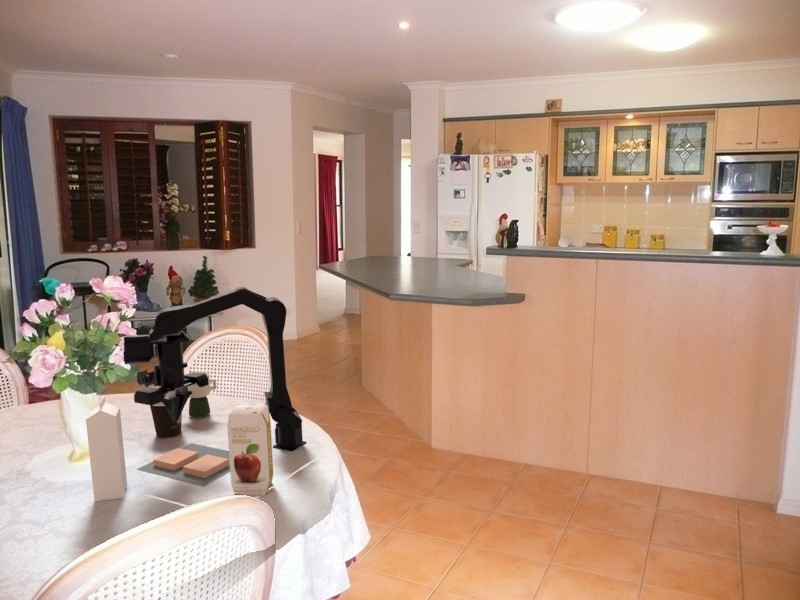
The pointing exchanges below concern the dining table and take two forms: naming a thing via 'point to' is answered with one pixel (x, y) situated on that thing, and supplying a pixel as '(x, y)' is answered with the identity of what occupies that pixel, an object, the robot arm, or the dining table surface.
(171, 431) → the coffee mug
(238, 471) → the juice carton
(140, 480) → the dining table surface
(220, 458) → the tile
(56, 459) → the dining table surface
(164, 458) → the tile
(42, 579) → the dining table surface
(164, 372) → the robot arm
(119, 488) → the milk
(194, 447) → the mat
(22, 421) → the dining table surface
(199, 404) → the character mug
